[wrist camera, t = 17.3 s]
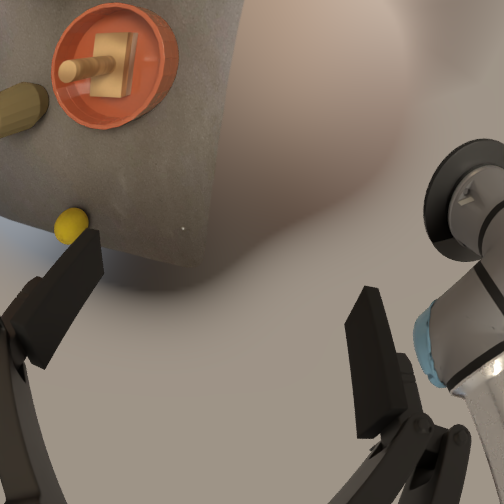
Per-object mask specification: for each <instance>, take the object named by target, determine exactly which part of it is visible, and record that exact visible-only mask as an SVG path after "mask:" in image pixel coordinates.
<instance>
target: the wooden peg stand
mask: <svg viewBox="0 0 504 504" xmlns="http://www.w3.org/2000/svg"><path fill="white" fill-rule="evenodd" d="M137 39H138V33H132V32H116V33H97V34H96V35H95V43H94V51H93V57H89V58H81V59H73V60H67V61H64V62H63V63H62V64H61V65H60V67H59V71H58V75H59V78H60V80H61V81H62V82H64V83H69V82H74V81H78V80H82V79H86V78H91V84H90V96H92V97H115V98H121V97H124V96H127V95H131V86H132V77H133V68H134V60H135V52H136V45H137Z"/></svg>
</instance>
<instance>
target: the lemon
mask: <svg viewBox="0 0 504 504" xmlns="http://www.w3.org/2000/svg"><path fill="white" fill-rule="evenodd" d="M88 223H89V222H88V217H87V215H86V213H85V212H84V211H83V210H81V209H79V208H69V209H67V210H65V211H64V212H63V213H62V214H61V215H60V216H59V217H58V219H57V220H56V223H55V226H54V232H55V236H56V238H57V239H58V240H59V241H60V242H61V243H64V244H68V245H69V244H72V243H73V242H74V241H75V240H76V239H77V238H78V236H79V235H80V234H81V233H82V232H83V231H84V230H85V229H86V228H88Z"/></svg>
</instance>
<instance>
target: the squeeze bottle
mask: <svg viewBox="0 0 504 504" xmlns="http://www.w3.org/2000/svg"><path fill="white" fill-rule="evenodd" d="M48 103H49V98H48V93H47V91H46V90H45V88H44V87H42V86H41V85H37V84H33V83H28V82H21V83H19V84H16V85H14V86H12V87H10V88H7V89H5V90H3V91H1V92H0V138H3V137H6V136H9V135H12V134H15V133H18V132H21V131H24V130H27V129H29V128H32V126H33V125H34V124H35V123H36V122H37V121H38V120H39V119H40V118H41V117H42V116H43V115H44V114H45V113H46V110H47V108H48Z"/></svg>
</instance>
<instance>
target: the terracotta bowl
mask: <svg viewBox="0 0 504 504" xmlns="http://www.w3.org/2000/svg"><path fill="white" fill-rule="evenodd" d="M116 32H132V33H138V39H137V45H136V52H135V60H134V68H133V77H132V86H131V95H127V96H124V97H121V98H115V97H92V96H90V84H91V78H86V79H82V80H78V81H74V82H69V83H64V82H62V81H61V80H60V78H59V75H58V71H59V67H60V65H61V64H62V63H63V62H64V61H67V60H73V59H81V58H89V57H93V51H94V43H95V35H96V34H97V33H116ZM178 61H179V53H178V45H177V41H176V38H175V35H174V33H173V31H172V29H171V28H170V26H169V25H168V24H167V23H166V21H165V20H164V19H163V18H161V17H160V16H159V15H157V14H156V13H154V12H152V11H150V10H148V9H144V8H141V7H137V6H133V5H128V4H123V3H107V4H101V5H98V6H96V7H93V8H91V9H88V10H87V11H85V12H84V13H82V14H81V15H80V16H78V17H77V18H76V19H74V20H73V22H72V23H71V24H70V25H69V26H68V27H67V28H66V30H65V31H64V32H63V34H62V36H61V38H60V40H59V42H58V43H57V46H56V48H55V52H54V55H53V59H52V68H51V79H52V85H53V91H54V93H55V96H56V98H57V100H58V103H59V105H60V106H61V107H62V109H63V110H64V111H65V112H66V114H67V115H68V116H69V117H71V118H72V119H73V120H75V121H76V122H77V123H79V124H81V125H84V126H87V127H89V128H93V129H110V128H114V127H119V126H121V125H123V124H125V123H127V122H129V121H131V120H133V119H135V118H137V117H139V116H141V115H144V114H146V113H147V112H149V111H150V110H152V109H153V108H154V107H156V106H157V105H158V104H159V103H160V102H161V101H162V100H163V98H164V97H165V96H166V95H167V93H168V91H169V90H170V88H171V86H172V84H173V82H174V79H175V76H176V73H177V69H178Z"/></svg>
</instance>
